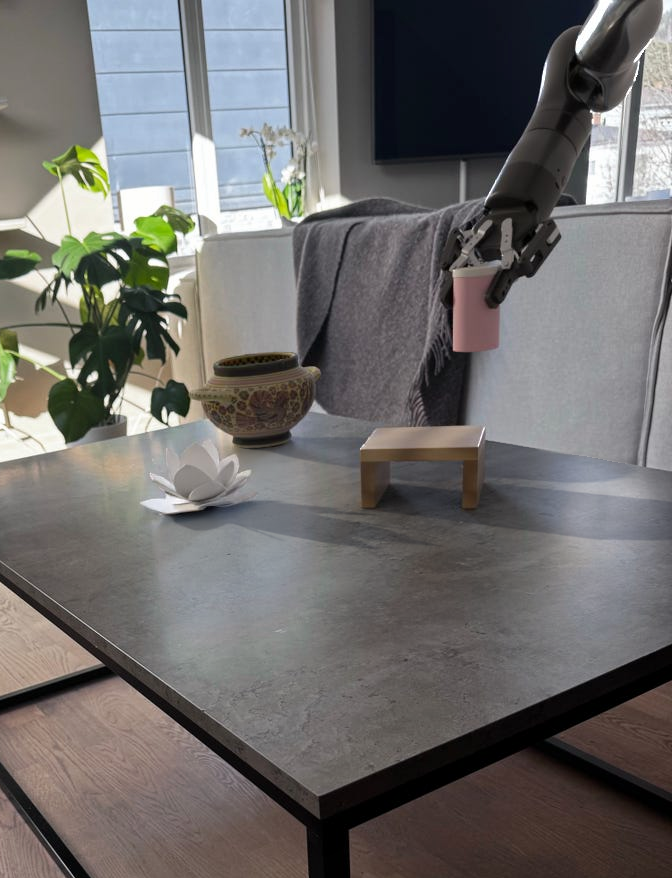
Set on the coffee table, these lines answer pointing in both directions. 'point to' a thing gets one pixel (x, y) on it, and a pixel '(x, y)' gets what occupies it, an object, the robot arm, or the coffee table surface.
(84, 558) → the coffee table surface
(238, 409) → the ceramic bowl
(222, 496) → the lotus flower
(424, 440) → the shelf stand
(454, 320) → the tube
